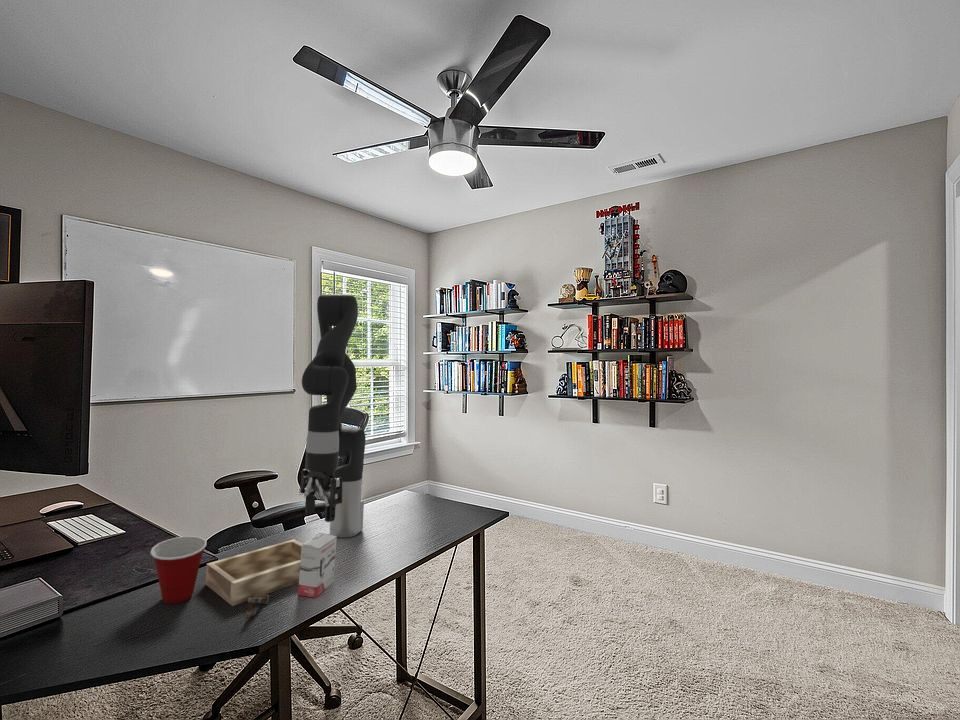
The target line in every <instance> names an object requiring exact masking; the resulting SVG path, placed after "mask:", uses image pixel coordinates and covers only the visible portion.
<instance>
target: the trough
mask: <svg viewBox="0 0 960 720" xmlns="http://www.w3.org/2000/svg"><path fill="white" fill-rule="evenodd" d="M302 545H303V543H302V542H300V541H298V540H296V539H294V538H293V539H290V540H287V541H283V542H279V543H276V544H272V545H268V546H265V547H262V548H258V549H254V550H251V551H247V552H244V553H240V554H237V555H232V556H229V557H226V558H222V559H219V560H215V561H211V562H208V563H206V570H205V572H206V573H205V585H206V586H207V587H208V588H209V589H210V590H212V591H213V592H214V593H215V594H217V595H218V596H219V597H221V598H222V599H223V600H224V601H225V602H226V603H228V604H229V605H230V606H231V607H234V606H237V605H240V604H243V603H245V602H248V598H249V597H251V595H254V597H259V598H260V597H261V595H269V594H271V593H273V592H276V591H279V590H282V589H286V588H287V587H290V586H293V585H297V584H299V575H300V561H301V547H302Z"/></svg>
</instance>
